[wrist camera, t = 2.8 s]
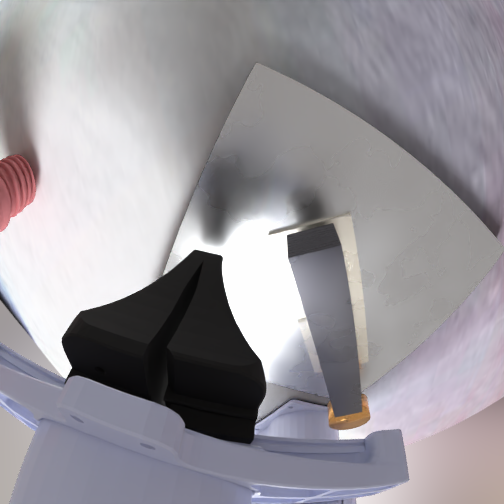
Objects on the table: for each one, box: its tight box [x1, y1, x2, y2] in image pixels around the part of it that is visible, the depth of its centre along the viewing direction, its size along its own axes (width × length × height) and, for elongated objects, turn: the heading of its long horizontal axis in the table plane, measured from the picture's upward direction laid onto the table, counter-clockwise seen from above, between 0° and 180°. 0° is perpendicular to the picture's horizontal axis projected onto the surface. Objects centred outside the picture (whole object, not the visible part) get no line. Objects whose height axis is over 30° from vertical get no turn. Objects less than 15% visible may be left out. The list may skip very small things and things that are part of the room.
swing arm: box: [287, 223, 370, 430], centre depth 15 cm, size 17×3×2 cm, turn 19°
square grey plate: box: [163, 62, 504, 398], centre depth 15 cm, size 18×18×2 cm
